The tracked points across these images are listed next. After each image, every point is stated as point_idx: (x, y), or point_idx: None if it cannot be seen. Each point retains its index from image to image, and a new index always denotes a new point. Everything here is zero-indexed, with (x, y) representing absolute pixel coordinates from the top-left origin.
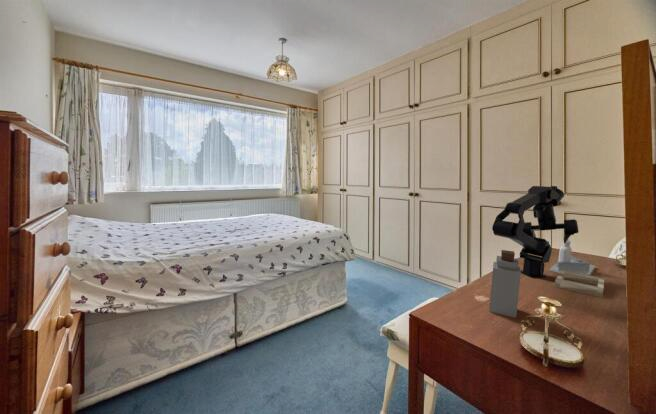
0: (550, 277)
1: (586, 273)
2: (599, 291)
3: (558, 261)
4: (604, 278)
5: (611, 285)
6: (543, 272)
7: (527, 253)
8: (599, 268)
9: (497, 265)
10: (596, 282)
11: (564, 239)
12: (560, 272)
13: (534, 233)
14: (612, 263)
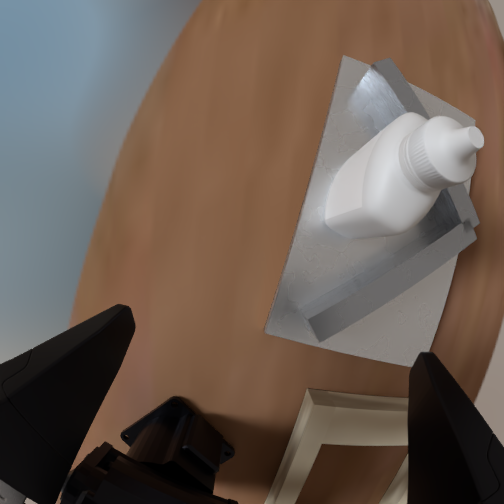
0: (254, 443)
1: (432, 311)
2: None
3: (321, 311)
4: None
5: (466, 387)
6: (222, 442)
7: (106, 456)
8: (479, 126)
9: None
10: None
11: (411, 479)
12: (297, 459)
13: (24, 420)
14: (494, 40)
